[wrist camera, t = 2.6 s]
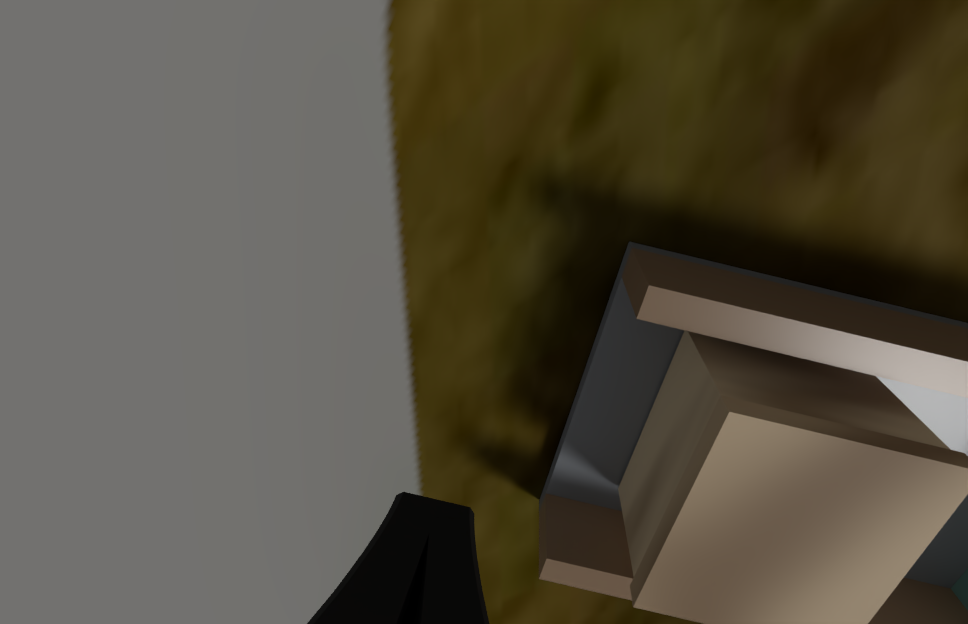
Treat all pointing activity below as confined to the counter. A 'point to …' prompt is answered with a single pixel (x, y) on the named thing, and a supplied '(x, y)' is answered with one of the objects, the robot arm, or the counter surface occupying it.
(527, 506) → the counter surface
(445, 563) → the robot arm
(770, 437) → the tan wooden block
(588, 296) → the counter surface
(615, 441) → the bay
